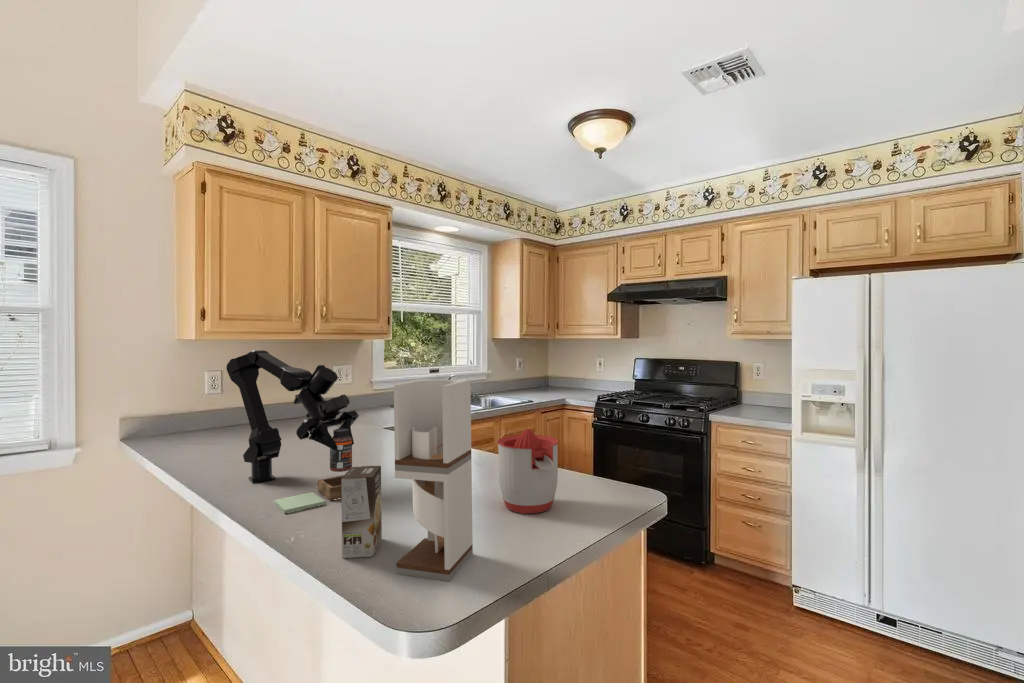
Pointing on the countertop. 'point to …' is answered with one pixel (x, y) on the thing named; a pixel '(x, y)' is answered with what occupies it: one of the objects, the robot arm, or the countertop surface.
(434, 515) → the white tiered shelf stand
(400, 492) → the countertop surface
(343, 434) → the supplement bottle
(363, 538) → the coffee box
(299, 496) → the sage rubber mat
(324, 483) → the walnut collar
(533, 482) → the citrus juicer
